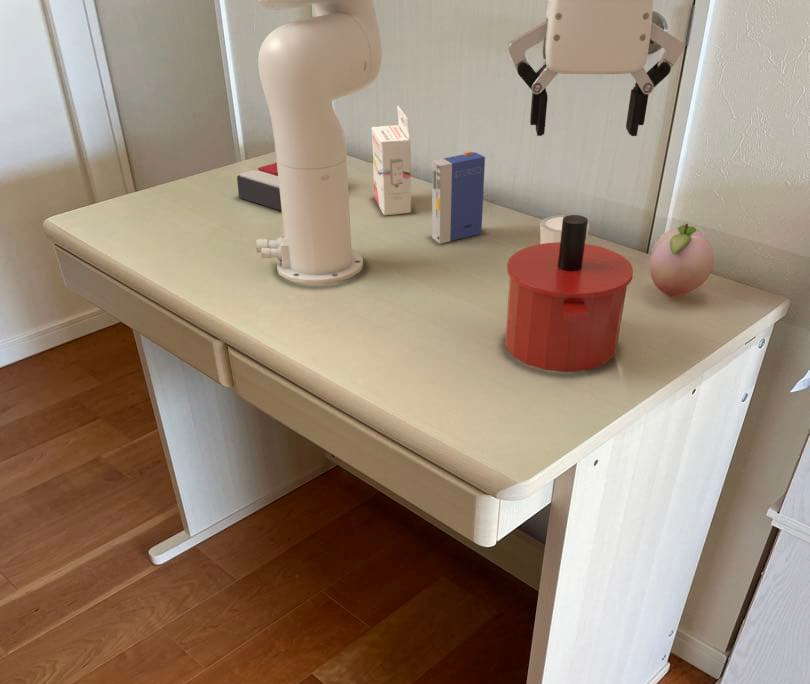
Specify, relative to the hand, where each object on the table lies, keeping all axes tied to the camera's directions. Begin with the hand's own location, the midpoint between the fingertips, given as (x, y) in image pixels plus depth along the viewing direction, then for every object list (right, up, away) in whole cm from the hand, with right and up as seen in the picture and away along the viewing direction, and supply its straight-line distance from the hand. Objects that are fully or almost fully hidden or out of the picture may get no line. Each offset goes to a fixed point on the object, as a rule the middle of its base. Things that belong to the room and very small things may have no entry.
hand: (585, 132), depth 91 cm
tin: (0, -19, +17) cm, 25 cm away
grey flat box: (-39, +18, +60) cm, 74 cm away
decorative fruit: (+18, -10, +27) cm, 34 cm away
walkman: (-11, +5, +44) cm, 46 cm away
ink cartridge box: (-21, +13, +55) cm, 60 cm away
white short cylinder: (+3, -4, +34) cm, 34 cm away
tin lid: (0, -12, +10) cm, 15 cm away
